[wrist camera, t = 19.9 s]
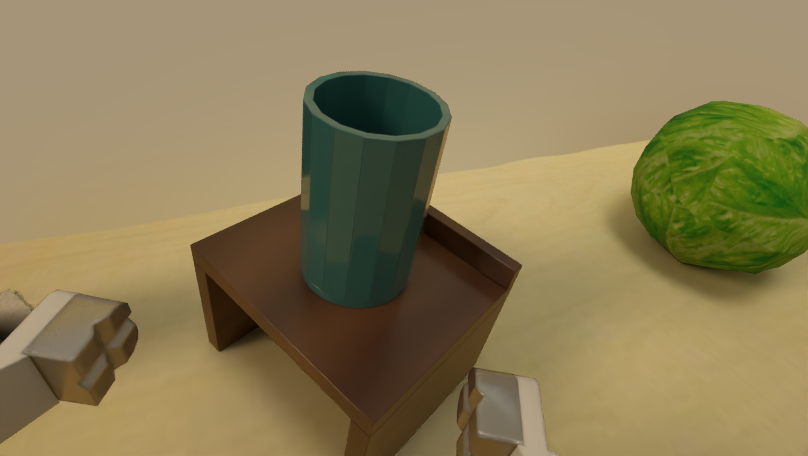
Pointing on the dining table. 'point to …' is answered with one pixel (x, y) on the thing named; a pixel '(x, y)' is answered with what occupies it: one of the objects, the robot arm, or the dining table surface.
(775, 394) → the dining table surface
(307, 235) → the cup
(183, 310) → the dining table surface
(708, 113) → the lettuce
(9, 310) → the condiment
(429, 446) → the dining table surface
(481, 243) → the shelf
